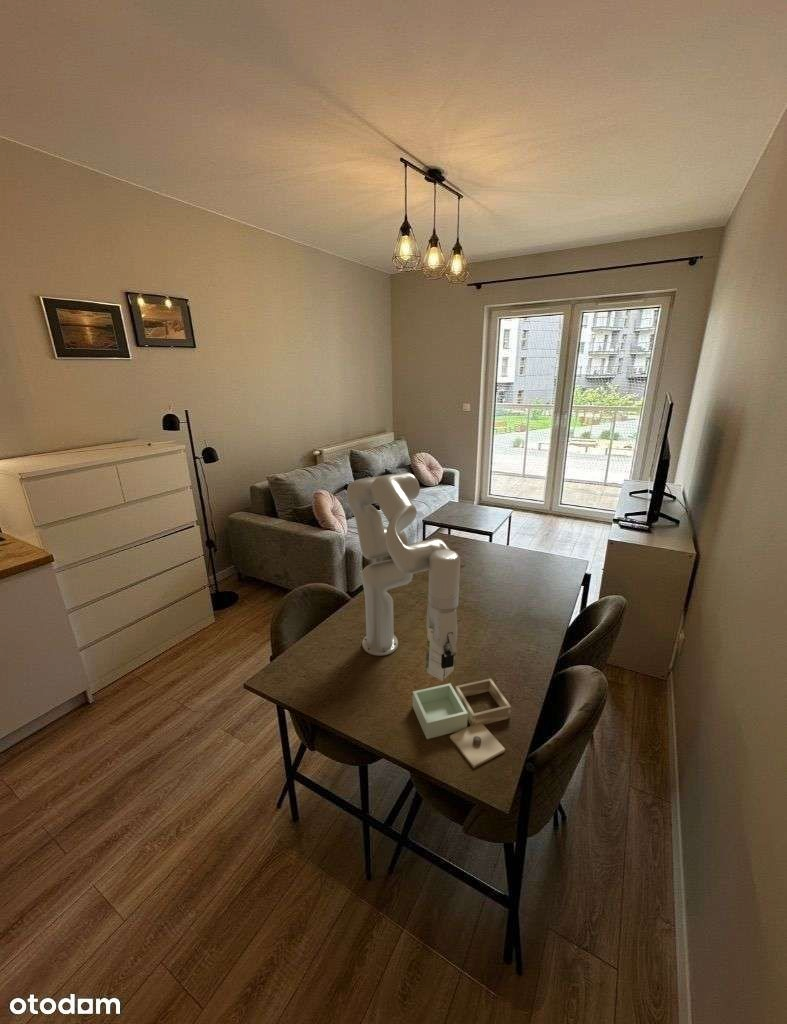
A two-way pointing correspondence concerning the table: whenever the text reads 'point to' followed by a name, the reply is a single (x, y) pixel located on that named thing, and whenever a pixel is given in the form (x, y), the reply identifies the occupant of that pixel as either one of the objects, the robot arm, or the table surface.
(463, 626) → the table surface
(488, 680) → the frame
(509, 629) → the table surface
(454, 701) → the bin
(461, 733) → the lid
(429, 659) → the syrup box
